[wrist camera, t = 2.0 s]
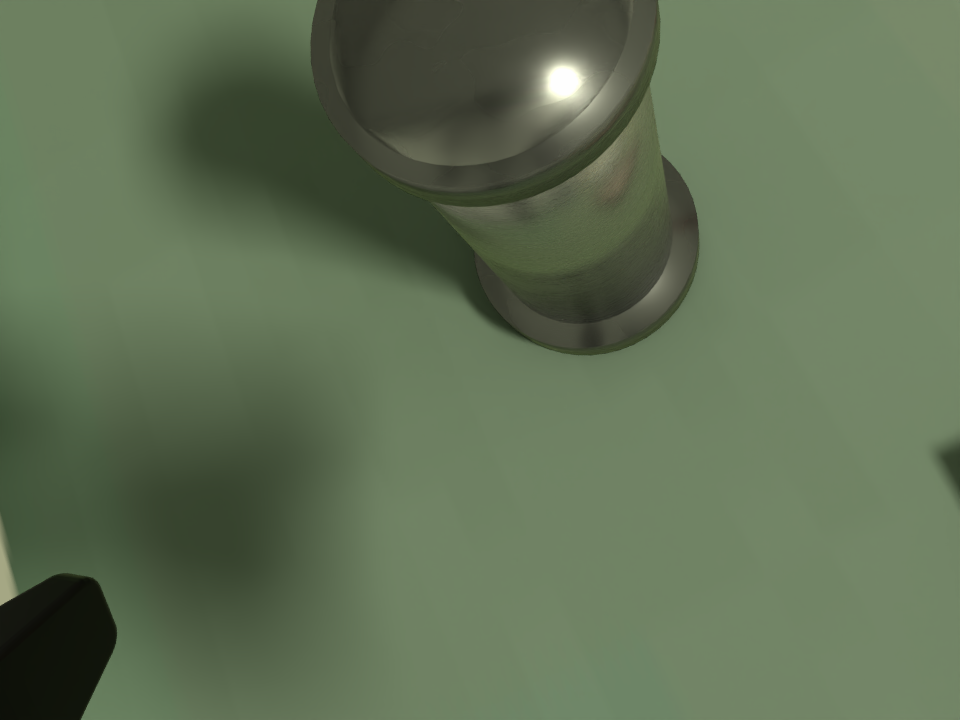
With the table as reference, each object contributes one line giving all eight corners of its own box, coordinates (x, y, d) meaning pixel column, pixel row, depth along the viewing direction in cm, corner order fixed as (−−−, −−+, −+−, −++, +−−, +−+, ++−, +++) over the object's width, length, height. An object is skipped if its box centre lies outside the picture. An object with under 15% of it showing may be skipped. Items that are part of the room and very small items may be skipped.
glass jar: (532, 391, 22) (367, 277, 12) (453, 207, 24) (244, -38, 13) (738, 296, 21) (755, 82, 11) (642, 110, 23) (575, -234, 12)
